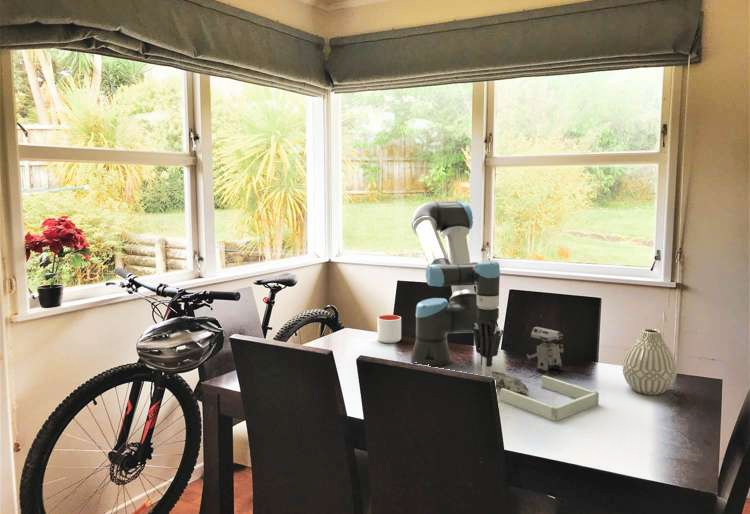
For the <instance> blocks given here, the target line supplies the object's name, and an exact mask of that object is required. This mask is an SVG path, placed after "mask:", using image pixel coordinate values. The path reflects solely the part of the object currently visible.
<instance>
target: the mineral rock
mask: <svg viewBox="0 0 750 514" xmlns="http://www.w3.org/2000/svg"><path fill="white" fill-rule="evenodd" d="M491 376H492V378H493V377H494V378H495V380H496V385H495V386H496V387H499V388H500V390H501V389H502V388H504V389H507V390H510V391H513V392H515V393H518V394H522V393H523V394H527V393H529V389H528V387H527V385H526V384H524V382H522V381H521V380H520V378H518V377H513V376H509V375H507V374H506V373H504V372H499V371H492V370H491Z"/></svg>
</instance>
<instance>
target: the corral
mask: <svg viewBox="0 0 750 514" xmlns="http://www.w3.org/2000/svg"><path fill="white" fill-rule="evenodd" d="M540 387H541V388H544V389H547V390H550V391H553V392H556V393H558V394H562V395H566V396H568V397H571V398H574V399H572V400H568V401H566V402H564V403H561V404H558V405H556V406H554V405H550V404H548V403H545V402H542V401H539V400H537V399H534V398H532V397H528V396H526V395H523V394H522V393H517V392H513V391H510V390H507V389H504V388H502V389H501V388H500V395H499V396H500V398H499V401H502V402H504V403H507V404H509V405H512V406H515V407H517V408H520V409H522V410H525V411H528V412H530V413H533V414H536V415H538V416H540V417H543V418H546V419H548V420H551V421H553V422H556V421H560V420H561V419H564V418H566V417H569V416H572V415H574V414H577V413H579V412H581V411H585V410H586V409H590V408H593V407H594V406H596V405H599V396H600V395H599V392H597V391H593V390H590V389H588V388H584V387H582V386H578V385H575V384H572V383H569V382H566V381H562V380H560V379H557V378H554V377H550V376H547V375H545V374H544V375H543V374H542V375H541V383H540Z"/></svg>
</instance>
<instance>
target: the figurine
mask: <svg viewBox="0 0 750 514" xmlns="http://www.w3.org/2000/svg"><path fill="white" fill-rule="evenodd" d="M563 336H564V335H563V333H561V332H560V331H559V330H553V329H552V328H551V327H550V328H544V327H540V326H535V327H533V328H532V331H531V333H530V337H531V338H535V339H538V340H541V341H542V343H540V345H536V349H535V350H534V351H536V352H535V353H532V354H531V355H529V354H528V353H527V351H524V352H523V353H524V354H523V355H524V356H526V357H527V358H526V359H528V360H531V359H533V358H535V357H537V361H538V362H537V367H536V372H537V373H542V374H544V375H547V374H549V366H550V368H551V369H556V370H558V371H559V370H562V369H563V365H562V358H561V354H564V353H565V352H564V345H563V343H561V342H560V341H559V340H561V339H563ZM553 340H558V341H557V342H556V343H554V342H552V341H553ZM558 343H560V344H558Z"/></svg>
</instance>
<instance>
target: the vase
mask: <svg viewBox="0 0 750 514" xmlns="http://www.w3.org/2000/svg"><path fill="white" fill-rule="evenodd" d="M677 372H678V371H677V364H676V359H675V357H674V354H673V353H672V351H671V349H670V348H669V347H668V345H667V344H666V342H665V341H664V339H663V336H662V332H661V330H658V329H655V328H644V329H642V330H641V332H640V335H639V336H638V338H637V339H636V340H635V341H634V342H633V343H632V344H631V346H630V347H629V348H628V350H627V351H626V353H625V355H624V358H623V362H622V374H623V377H624V379H625V381H626V383H627V385H628V387H630V388H631V389H632V390H634V391H635V392H637V393H639V394H643V395H647V396H658V395H662V394H663V393H665V392H667V391H668V390H670V389H671V387H672V386H673V384H674V383H675V381H676V378H677Z"/></svg>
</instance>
